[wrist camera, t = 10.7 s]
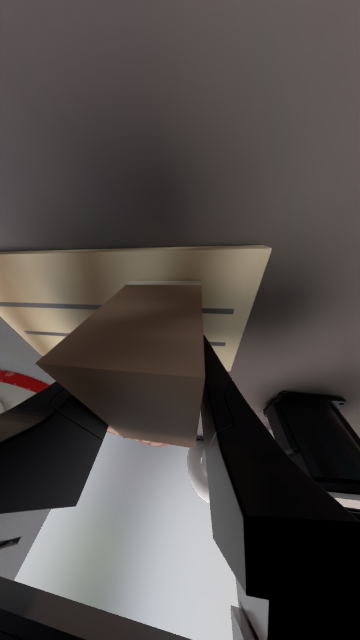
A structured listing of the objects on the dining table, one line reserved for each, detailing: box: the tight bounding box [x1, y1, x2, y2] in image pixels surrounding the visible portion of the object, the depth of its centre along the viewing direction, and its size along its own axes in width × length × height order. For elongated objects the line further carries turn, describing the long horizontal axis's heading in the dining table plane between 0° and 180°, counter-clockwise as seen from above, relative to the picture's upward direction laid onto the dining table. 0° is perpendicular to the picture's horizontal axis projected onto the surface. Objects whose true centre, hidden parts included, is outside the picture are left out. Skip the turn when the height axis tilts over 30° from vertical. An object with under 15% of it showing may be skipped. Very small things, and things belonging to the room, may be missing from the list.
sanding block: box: [36, 281, 205, 448], centre depth 7 cm, size 4×7×6 cm, turn 3°
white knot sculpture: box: [187, 440, 210, 503], centre depth 27 cm, size 11×12×9 cm
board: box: [0, 245, 272, 371], centre depth 11 cm, size 20×10×1 cm, turn 93°
